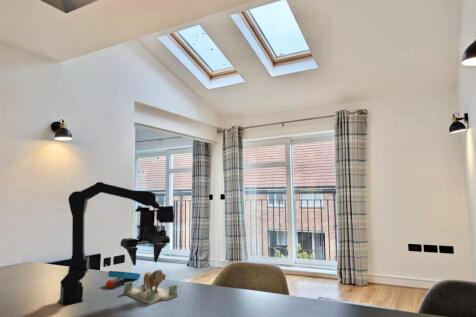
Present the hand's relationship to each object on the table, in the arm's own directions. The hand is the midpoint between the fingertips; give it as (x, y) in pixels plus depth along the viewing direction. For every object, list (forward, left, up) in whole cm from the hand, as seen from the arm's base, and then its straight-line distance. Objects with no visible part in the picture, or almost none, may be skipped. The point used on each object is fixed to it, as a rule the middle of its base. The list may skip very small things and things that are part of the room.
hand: (145, 263), depth 125 cm
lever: (+2, +23, -12) cm, 26 cm away
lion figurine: (+2, -2, -11) cm, 11 cm away
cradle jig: (+2, -2, -12) cm, 12 cm away
